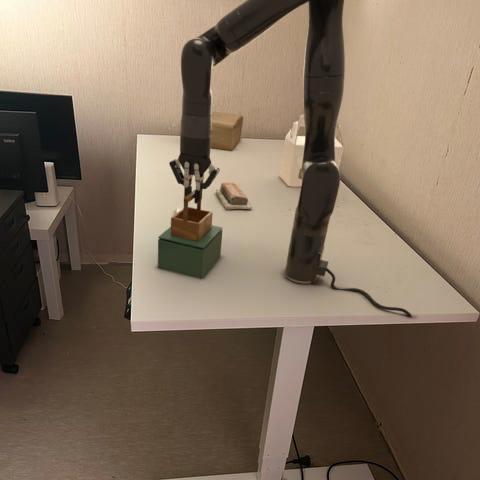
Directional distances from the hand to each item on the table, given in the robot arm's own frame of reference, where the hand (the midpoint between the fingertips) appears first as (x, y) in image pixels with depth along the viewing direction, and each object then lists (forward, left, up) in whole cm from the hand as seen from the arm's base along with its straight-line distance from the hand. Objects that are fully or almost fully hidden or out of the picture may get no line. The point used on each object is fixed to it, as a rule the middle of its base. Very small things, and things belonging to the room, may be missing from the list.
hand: (192, 201), depth 122 cm
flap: (0, -4, -9) cm, 10 cm away
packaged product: (+5, -54, -18) cm, 57 cm away
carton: (0, 0, -18) cm, 18 cm away
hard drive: (+13, -29, -18) cm, 37 cm away
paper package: (+43, -133, -18) cm, 141 cm away
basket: (0, 0, -9) cm, 9 cm away
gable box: (-16, -96, -18) cm, 99 cm away
